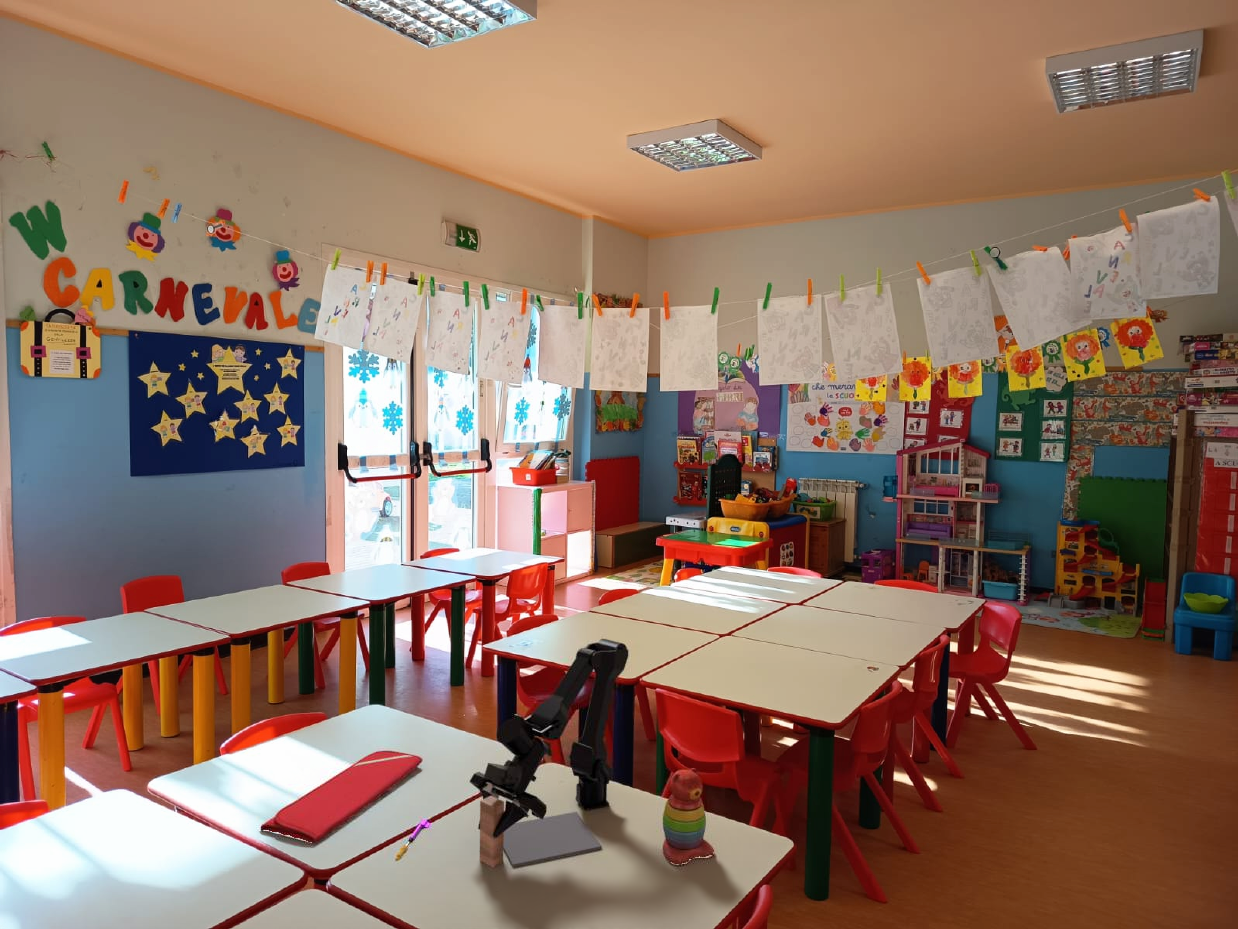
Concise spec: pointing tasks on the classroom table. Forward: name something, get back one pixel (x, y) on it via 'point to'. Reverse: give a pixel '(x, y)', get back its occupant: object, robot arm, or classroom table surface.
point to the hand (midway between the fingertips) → (486, 833)
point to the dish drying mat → (342, 796)
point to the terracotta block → (491, 831)
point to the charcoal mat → (548, 839)
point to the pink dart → (421, 825)
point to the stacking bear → (685, 819)
